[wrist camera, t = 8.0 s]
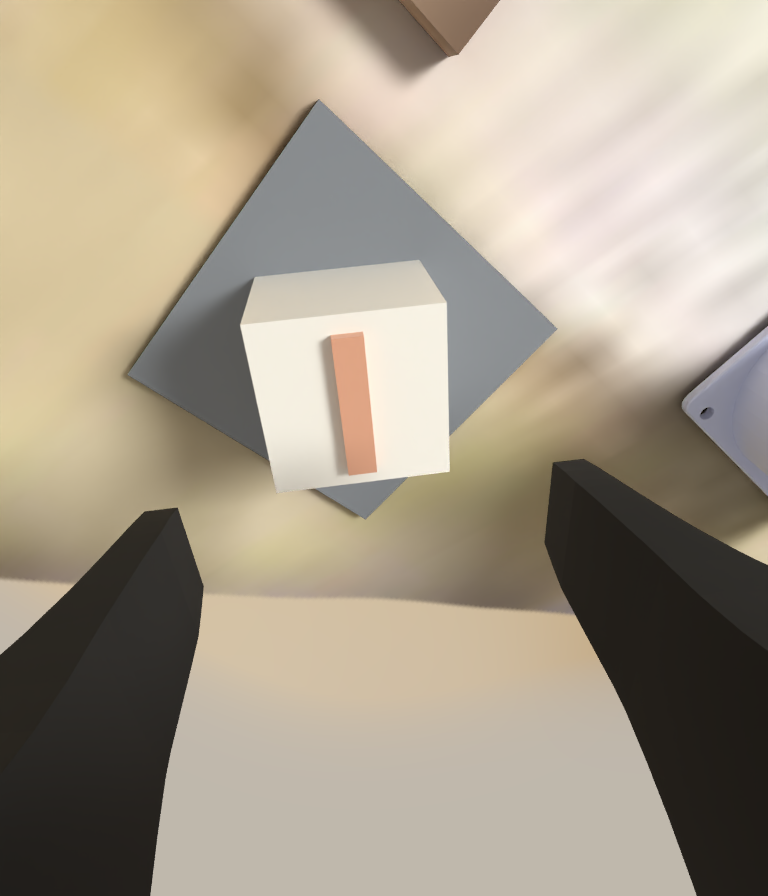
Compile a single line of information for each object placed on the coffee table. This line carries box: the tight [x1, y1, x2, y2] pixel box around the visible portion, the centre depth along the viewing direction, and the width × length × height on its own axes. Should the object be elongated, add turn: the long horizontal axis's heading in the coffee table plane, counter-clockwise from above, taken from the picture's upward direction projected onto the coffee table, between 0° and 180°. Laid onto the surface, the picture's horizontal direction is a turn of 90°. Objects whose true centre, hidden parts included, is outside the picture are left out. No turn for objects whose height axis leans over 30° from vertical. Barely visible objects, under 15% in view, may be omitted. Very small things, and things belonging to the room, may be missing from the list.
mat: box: [127, 99, 557, 519], centre depth 19 cm, size 10×10×1 cm
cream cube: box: [240, 260, 450, 493], centre depth 17 cm, size 5×5×4 cm
